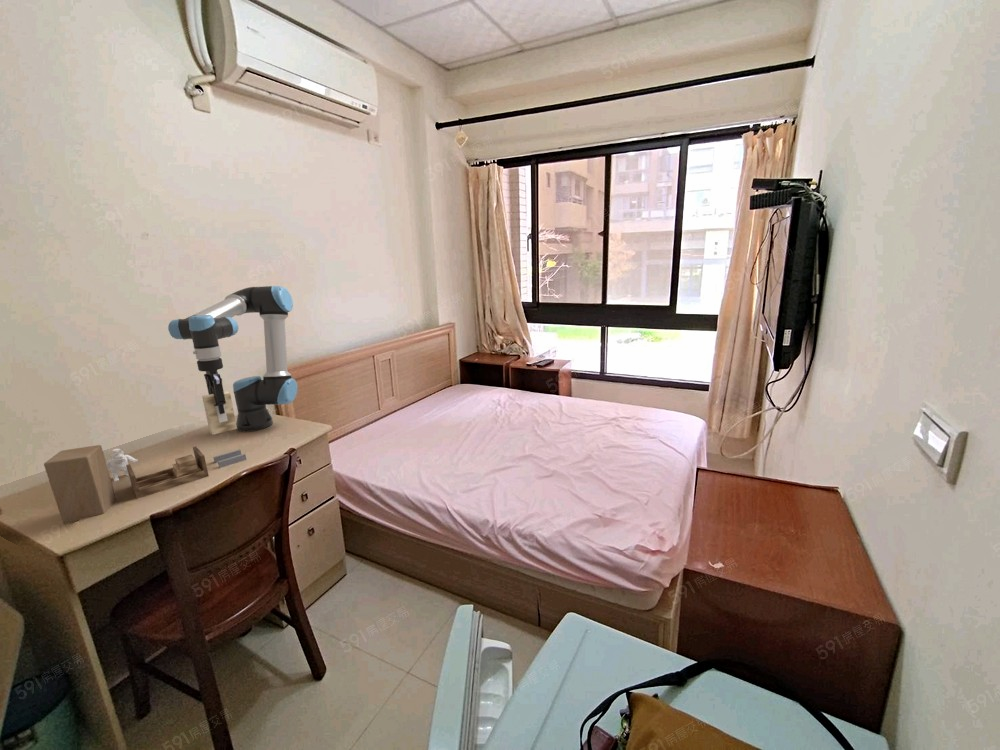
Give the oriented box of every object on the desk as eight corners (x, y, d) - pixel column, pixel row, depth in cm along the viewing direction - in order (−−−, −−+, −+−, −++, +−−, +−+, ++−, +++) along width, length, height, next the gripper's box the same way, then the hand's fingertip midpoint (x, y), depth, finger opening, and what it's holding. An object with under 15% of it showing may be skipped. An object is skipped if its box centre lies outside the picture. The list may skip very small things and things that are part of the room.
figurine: (113, 487, 150) (104, 456, 147) (104, 484, 153) (95, 452, 150) (144, 476, 158) (136, 445, 155) (134, 472, 161) (126, 442, 158)
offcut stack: (196, 469, 160) (193, 452, 158) (202, 475, 154) (198, 459, 153) (173, 475, 155) (169, 459, 153) (178, 483, 149) (174, 466, 148)
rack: (200, 468, 162) (195, 446, 160) (209, 478, 154) (204, 455, 152) (132, 489, 149) (126, 465, 146) (137, 501, 140) (131, 476, 138)
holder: (241, 455, 173) (239, 447, 172) (249, 462, 166) (248, 454, 165) (212, 463, 166) (210, 456, 165) (219, 471, 159) (218, 463, 158)
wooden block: (78, 508, 137) (60, 450, 132) (118, 500, 141) (101, 444, 136) (62, 525, 129) (42, 463, 123) (105, 516, 132) (87, 456, 127)
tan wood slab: (233, 426, 166) (227, 391, 163) (237, 428, 163) (230, 393, 160) (209, 432, 161) (202, 396, 157) (212, 434, 158) (204, 398, 155)
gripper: (191, 357, 159) (203, 417, 164) (202, 363, 147) (216, 428, 153) (214, 354, 164) (226, 412, 170) (227, 359, 152) (239, 422, 158)
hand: (221, 420), depth 161 cm, fingers closed on tan wood slab, 4 cm apart
